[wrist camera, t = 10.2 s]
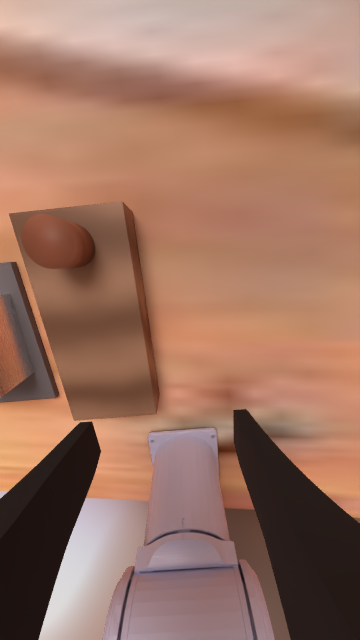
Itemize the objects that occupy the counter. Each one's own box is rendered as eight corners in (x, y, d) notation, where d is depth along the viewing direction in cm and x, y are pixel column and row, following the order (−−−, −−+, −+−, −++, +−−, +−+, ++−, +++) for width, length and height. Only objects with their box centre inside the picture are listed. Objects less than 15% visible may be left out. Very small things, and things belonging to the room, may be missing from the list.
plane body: (159, 393, 22) (152, 441, 16) (87, 399, 22) (55, 449, 16) (132, 211, 16) (106, 185, 11) (38, 221, 17) (-37, 201, 11)
